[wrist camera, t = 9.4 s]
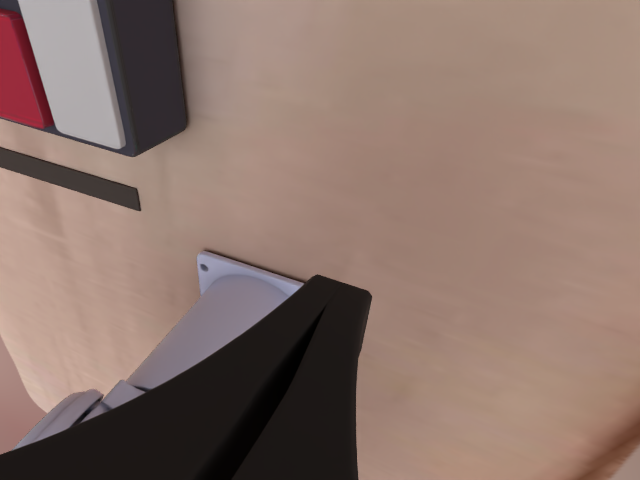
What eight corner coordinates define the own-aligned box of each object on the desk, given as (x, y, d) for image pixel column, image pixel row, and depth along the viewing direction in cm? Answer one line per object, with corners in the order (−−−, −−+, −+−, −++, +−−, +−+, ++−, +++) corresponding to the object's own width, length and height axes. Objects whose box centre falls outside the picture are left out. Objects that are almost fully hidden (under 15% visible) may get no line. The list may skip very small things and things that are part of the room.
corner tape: (140, 210, 27) (139, 211, 27) (-20, 159, 30) (-21, 160, 30) (50, -283, 15) (47, -284, 15) (-199, -284, 18) (-203, -285, 18)
